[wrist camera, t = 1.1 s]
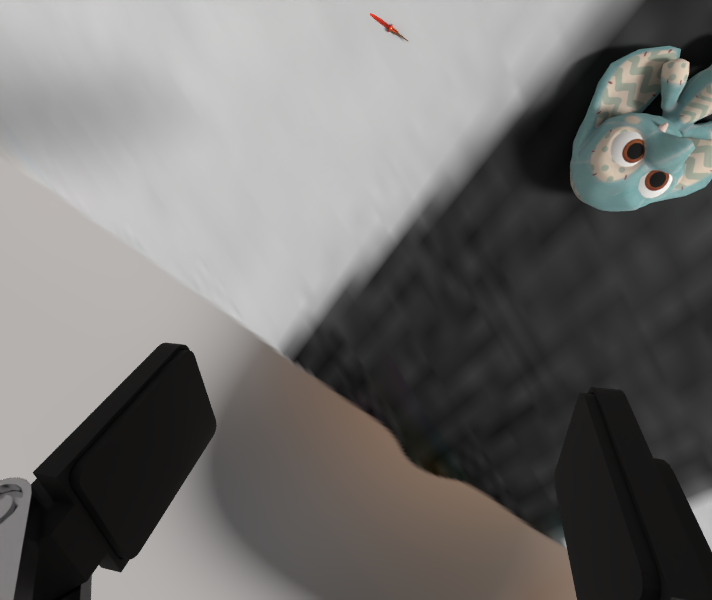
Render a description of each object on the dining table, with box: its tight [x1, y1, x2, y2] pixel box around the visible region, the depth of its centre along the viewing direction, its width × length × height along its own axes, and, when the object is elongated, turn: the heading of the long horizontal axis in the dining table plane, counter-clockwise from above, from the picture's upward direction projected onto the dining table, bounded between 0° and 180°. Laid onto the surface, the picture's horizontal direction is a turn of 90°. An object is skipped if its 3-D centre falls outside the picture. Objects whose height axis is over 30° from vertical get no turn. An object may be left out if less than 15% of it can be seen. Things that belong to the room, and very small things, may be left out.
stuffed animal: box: [570, 46, 712, 211], centre depth 26 cm, size 11×7×12 cm
